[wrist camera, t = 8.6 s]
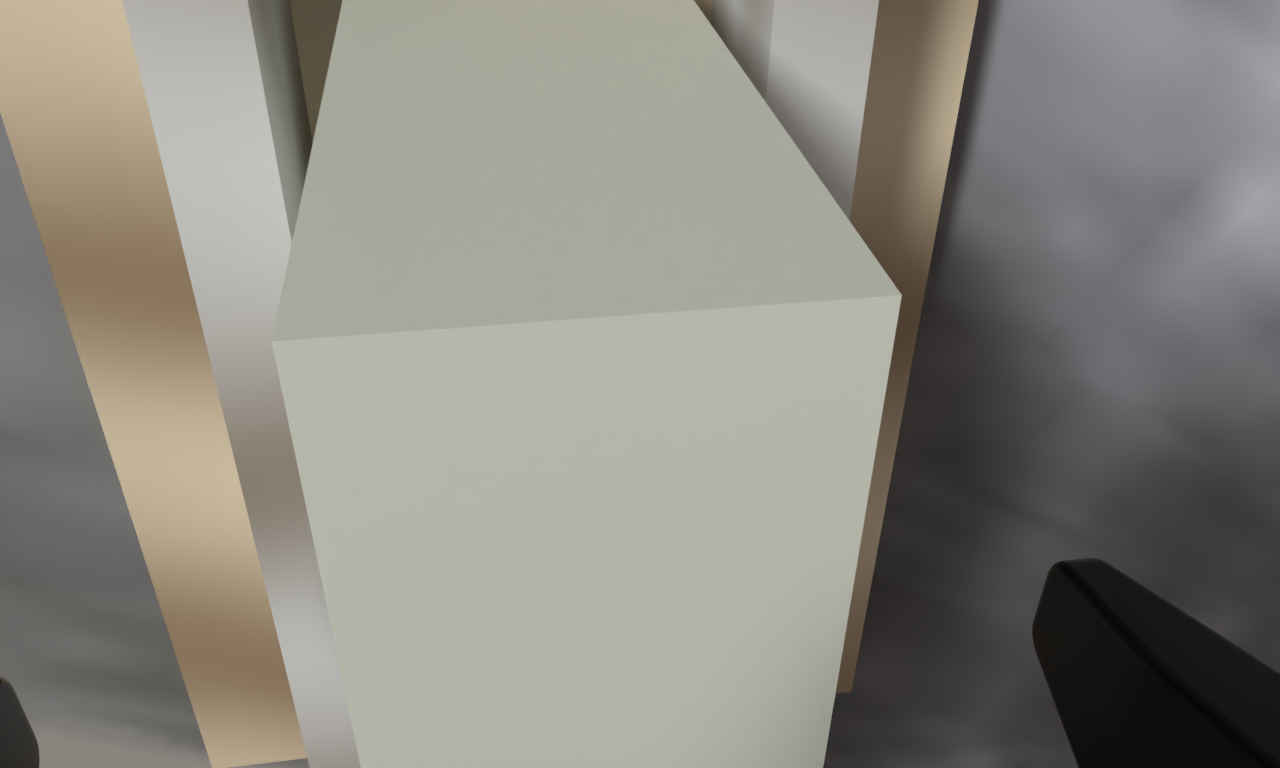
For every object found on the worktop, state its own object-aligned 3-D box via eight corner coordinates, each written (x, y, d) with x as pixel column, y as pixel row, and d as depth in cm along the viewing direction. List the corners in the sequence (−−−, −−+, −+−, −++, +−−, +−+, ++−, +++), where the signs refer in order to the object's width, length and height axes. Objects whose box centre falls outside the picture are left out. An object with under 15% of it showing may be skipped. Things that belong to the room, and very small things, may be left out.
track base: (-171, -568, 10) (-420, -647, 7) (1029, -522, 11) (1238, -570, 8) (222, 720, 19) (186, 912, 16) (835, 649, 21) (900, 814, 18)
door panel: (357, -67, 12) (270, 342, 5) (640, -75, 12) (902, 294, 5) (436, 566, 17) (445, 1173, 10) (634, 545, 17) (765, 1117, 11)
